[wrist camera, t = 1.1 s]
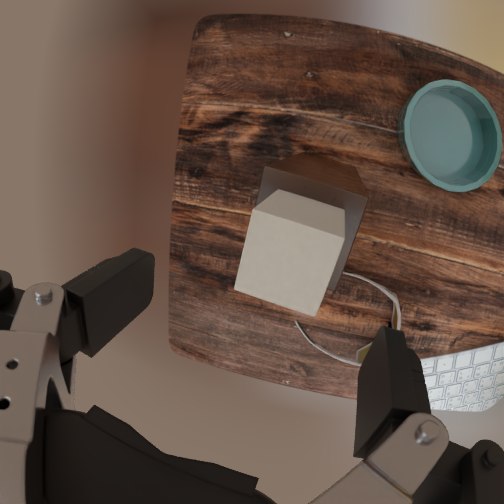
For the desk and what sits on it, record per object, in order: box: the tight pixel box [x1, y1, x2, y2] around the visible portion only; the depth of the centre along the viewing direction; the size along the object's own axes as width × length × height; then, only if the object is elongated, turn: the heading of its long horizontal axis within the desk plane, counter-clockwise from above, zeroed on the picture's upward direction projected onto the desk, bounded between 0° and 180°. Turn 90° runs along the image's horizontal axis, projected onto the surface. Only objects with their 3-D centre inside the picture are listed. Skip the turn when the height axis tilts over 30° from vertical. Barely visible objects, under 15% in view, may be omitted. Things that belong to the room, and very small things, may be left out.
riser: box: [255, 152, 369, 291], centre depth 30 cm, size 7×7×22 cm
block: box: [234, 189, 345, 317], centre depth 18 cm, size 4×4×6 cm
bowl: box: [397, 79, 502, 192], centre depth 31 cm, size 14×14×5 cm
